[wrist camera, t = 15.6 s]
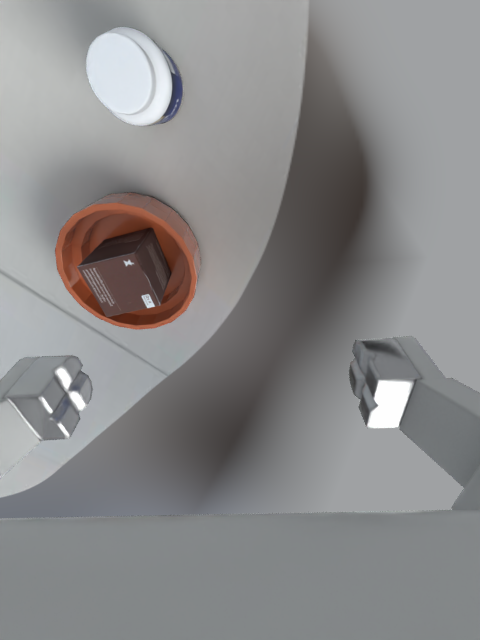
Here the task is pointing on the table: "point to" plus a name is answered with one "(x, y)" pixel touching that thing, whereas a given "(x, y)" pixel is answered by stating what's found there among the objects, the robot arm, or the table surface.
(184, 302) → the clay bowl
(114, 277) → the box
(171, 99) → the pill bottle
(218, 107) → the table surface
